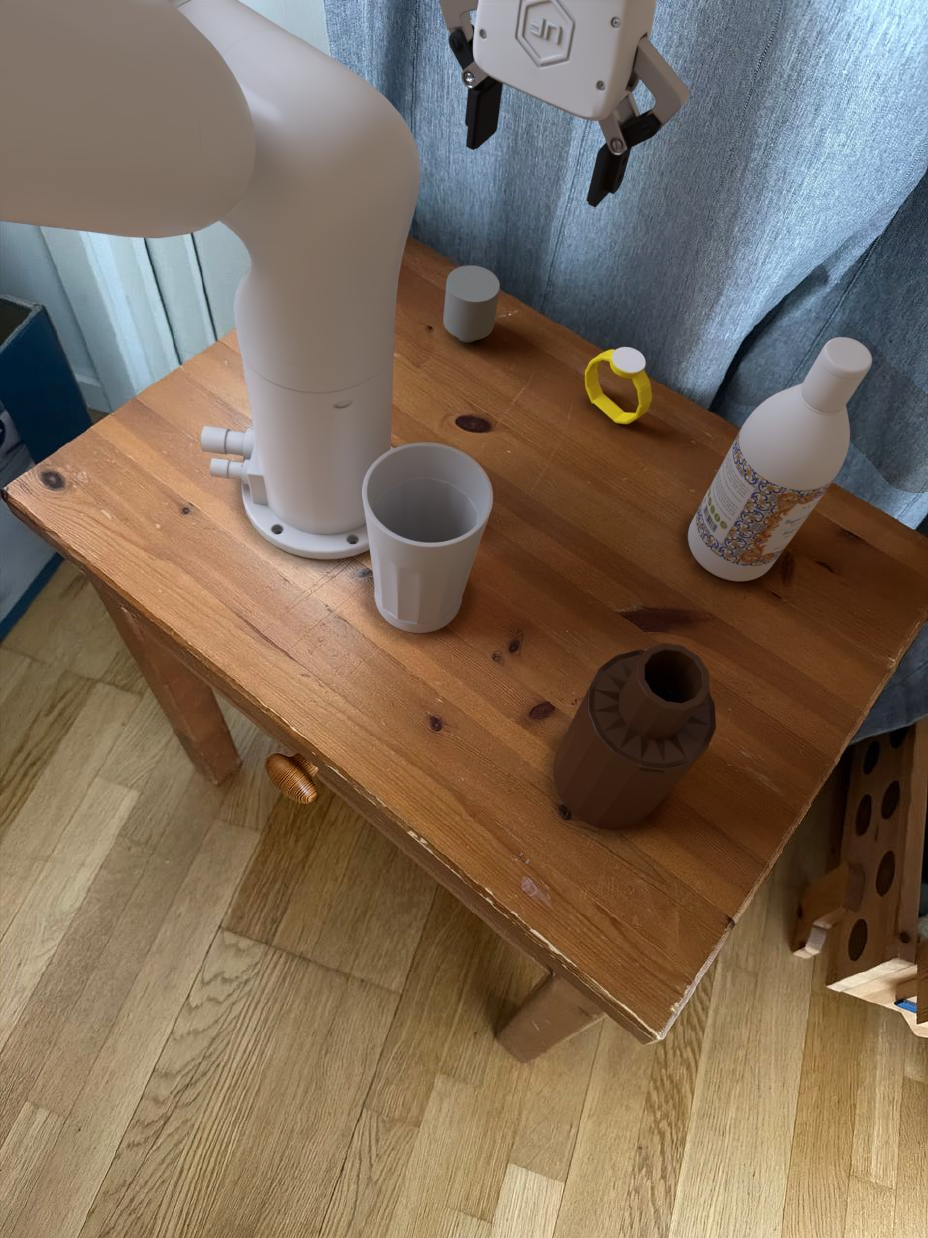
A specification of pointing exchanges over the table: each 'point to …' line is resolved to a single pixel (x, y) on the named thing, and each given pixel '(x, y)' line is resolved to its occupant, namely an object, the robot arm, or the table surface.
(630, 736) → the bottle
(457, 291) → the bung
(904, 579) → the table surface
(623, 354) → the watch
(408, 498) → the cup
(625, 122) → the robot arm
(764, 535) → the bath foam
